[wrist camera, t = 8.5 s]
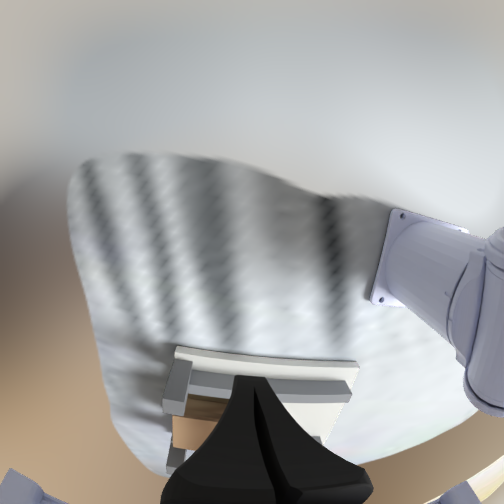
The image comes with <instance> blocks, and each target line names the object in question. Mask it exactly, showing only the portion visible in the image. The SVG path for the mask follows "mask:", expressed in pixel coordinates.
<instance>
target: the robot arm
mask: <svg viewBox="0 0 504 504" xmlns="http://www.w3.org/2000/svg"><path fill="white" fill-rule="evenodd" d="M401 214H403V217H402V218H400V215H401ZM458 230H459V231H458ZM381 297H382V300H381V301H379V299H380V298H381ZM370 302H371V303H372V304H374V305H382V306H394V307H407V308H408V309H410V310H411V311H412V312H413V313H415V314H416V315H417V316H418V317H419V318H421V319H422V320H423V321H424V322H425V323H427V324H428V325H429V326H430V327H431V328H432V329H434V330H435V331H436V332H437V333H438V334H440V335H441V336H442V337H443V338H444V339H445V340H446V341H448V342H449V343H450V344H451V345H452V346H453V347H454V348H455V349H456V360H457V361H458V362H459V363H460V364H461V365H462V366H464V367H465V368H466V369H465V373H464V377H463V387H464V391H465V393H466V396H467V398H468V399H469V400H470V402H471V403H472V404H473V405H474V406H475V407H476V408H478V409H479V410H480V411H482V412H484V413H486V414H489V415H491V416H496V417H504V227H502V228H499V229H498V230H496V231H495V232H494V233H493V234H492V235H491V236H489V237H488V238H487V239H483V238H480V237H477V236H474V235H471V234H469V231H468V230H467V229H465V228H462V227H459V226H456V225H453V224H450V223H447V222H443V221H440V220H437V219H433V218H430V217H426V216H423V215H419V214H416V213H412V212H409V211H405V210H401V209H397V208H394V209H393V210H392V211H391V214H390V219H389V224H388V228H387V233H386V237H385V242H384V246H383V250H382V255H381V259H380V263H379V266H378V270H377V274H376V278H375V281H374V285H373V289H372V292H371V295H370ZM372 492H373V485H372V483H371V480H370V478H369V476H368V474H367V473H366V471H365V469H364V468H361V467H359V466H357V465H355V464H353V463H351V462H348V461H346V460H345V459H343V458H341V457H339V456H338V455H336V454H334V453H333V452H331V451H330V450H328V449H327V448H325V447H324V446H323V445H321V444H320V443H319V442H317V441H316V440H315V439H314V438H313V437H311V436H310V435H309V434H308V433H307V432H306V431H305V430H304V429H303V428H302V427H301V426H300V425H299V424H298V423H297V422H296V421H295V419H294V418H293V417H292V416H291V415H290V413H289V412H288V411H287V410H286V408H285V407H284V405H283V404H282V403H281V401H280V400H279V398H278V397H277V395H276V394H275V392H274V391H273V389H272V387H271V386H270V384H269V382H268V380H267V379H266V378H265V377H259V376H247V375H236V376H234V381H233V387H232V393H231V396H230V399H229V402H228V404H227V406H226V408H225V410H224V412H223V414H222V416H221V418H220V420H219V421H218V423H217V424H216V426H215V428H214V429H213V431H212V432H211V433H210V435H209V436H208V437H207V439H206V440H205V441H204V442H203V444H202V445H201V446H200V447H199V448H198V449H197V450H196V451H195V452H194V453H193V454H192V455H191V456H190V457H189V458H188V459H187V460H186V461H185V462H184V463H183V464H181V465H180V466H179V467H178V468H177V469H175V471H174V472H173V474H172V475H171V477H170V479H169V480H168V482H167V483H166V485H165V487H164V489H163V492H162V495H161V501H160V504H363V503H364V502H365V501H366V500H367V499H368V497H369V496H370V495H371V494H372ZM0 504H68V503H66V502H63V501H61V500H59V499H57V498H54V497H52V496H50V495H48V494H46V493H44V491H43V490H42V488H41V487H40V486H39V485H38V484H37V483H36V482H34V481H33V480H31V479H29V478H28V477H26V476H24V475H22V474H20V473H18V472H17V471H15V470H13V469H12V468H9V470H8V472H7V474H6V475H5V477H4V479H3V481H2V483H1V485H0ZM428 504H481V502H480V500H479V499H478V497H477V496H476V494H475V493H474V491H473V490H472V488H471V487H470V485H469V484H468V482H467V481H464V482H462V483H460V484H458V485H456V486H454V487H452V488H451V489H449V490H447V491H446V492H445V493H444V494H443V495H442V496H441V497H440V498H439V499H437V500H435V501H433V502H430V503H428Z"/></svg>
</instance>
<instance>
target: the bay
mask: <svg viewBox="0 0 504 504" xmlns="http://www.w3.org/2000/svg"><path fill="white" fill-rule="evenodd" d="M359 369H360V366H359V365H358V363H357V362H349V361H314V360H296V359H281V358H269V357H258V356H248V355H239V354H231V353H223V352H215V351H208V350H201V349H195V348H188V347H182V346H177V347H176V350H175V359H174V362H173V365H172V368H171V371H170V375H169V378H168V381H167V384H166V388H165V391H164V394H163V398H162V406H163V413H167V414H172V415H178V416H184V412H185V406H186V401H187V396H188V393H189V394H196V395H202V396H210V397H218V398H226V399H230V396H231V393H232V387H233V381H234V376H236V375H247V376H259V377H265V378H266V379H267V380H268V382H269V384H270V386H271V387H272V389H273V391H274V392H275V394H276V395H277V397H278V398H279V400H280V401H281V403H282V404H283V405H284V407H285V408H286V410H287V411H288V412H289V413H290V415H291V416H292V417H293V418H294V419H295V421H296V422H297V423H298V424H299V425H300V426H301V427H302V428H303V429H304V430H305V431H306V432H307V433H308V434H309V435H310V436H311V437H313V438H314V439H315V440H316V441H317V442H319V443H320V444H321V445H324V443H325V441H326V440H327V438H328V436H329V434H330V432H331V430H332V428H333V426H334V424H335V422H336V420H337V418H338V416H339V414H340V412H341V410H342V408H343V406H344V404H345V403H348V402H349V400H350V398H351V396H352V393H351V391H350V390H351V388H352V386H353V384H354V381H355V379H356V376H357V374H358V372H359ZM186 452H187V449H182V448H176V447H173V432H172V437H171V444H170V449H169V454H168V459H167V464H166V470H167V474H173V472H174V471H175V469H177V468H178V467H179V466H180V465H181V464H183V463H184V462H185V458H186Z"/></svg>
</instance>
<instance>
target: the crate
mask: <svg viewBox="0 0 504 504" xmlns="http://www.w3.org/2000/svg"><path fill="white" fill-rule="evenodd" d="M228 402H229V399H226V398H218V397H210V396H202V395H196V394H189V393H188V396H187V401H186V406H185V412H184V416H178V415H172V424H173V447H176V448H182V449H188V450H195V451H196V450H197V449H198V448H199V447H200V446H201V445H202V444H203V442H204V441H205V440H206V439H207V437H208V436H209V435H210V433H211V432H212V431H213V429H214V428H215V426H216V424H217V423H218V421H219V420H220V418H221V416H222V414H223V412H224V410H225V408H226V406H227V404H228Z"/></svg>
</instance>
